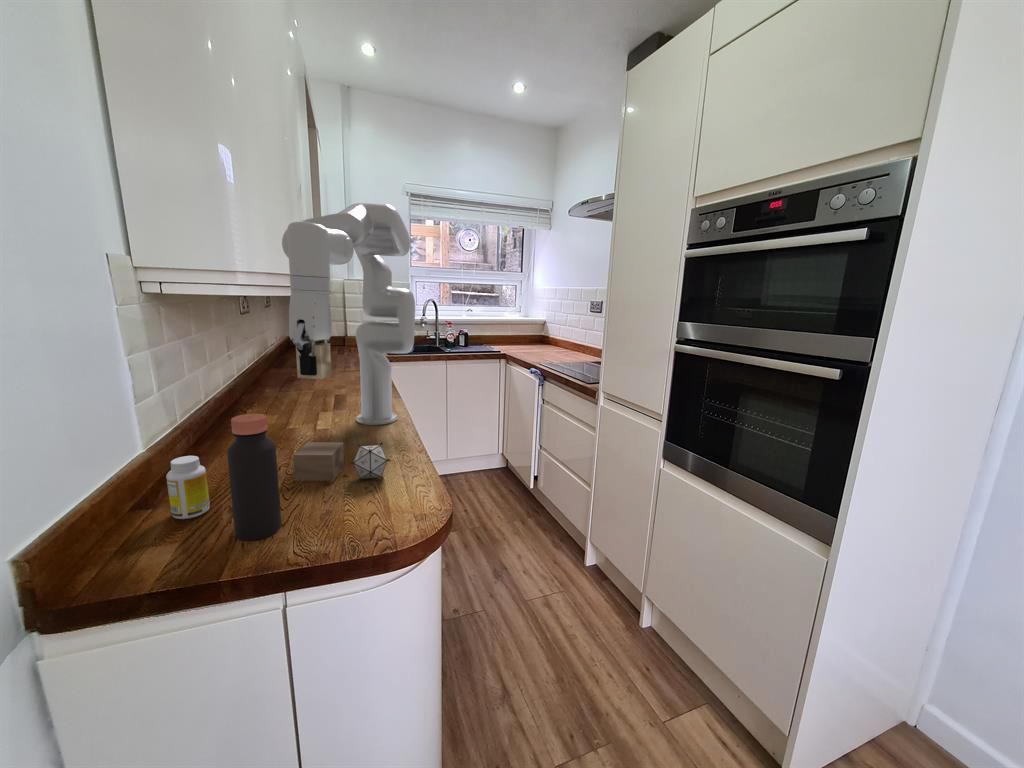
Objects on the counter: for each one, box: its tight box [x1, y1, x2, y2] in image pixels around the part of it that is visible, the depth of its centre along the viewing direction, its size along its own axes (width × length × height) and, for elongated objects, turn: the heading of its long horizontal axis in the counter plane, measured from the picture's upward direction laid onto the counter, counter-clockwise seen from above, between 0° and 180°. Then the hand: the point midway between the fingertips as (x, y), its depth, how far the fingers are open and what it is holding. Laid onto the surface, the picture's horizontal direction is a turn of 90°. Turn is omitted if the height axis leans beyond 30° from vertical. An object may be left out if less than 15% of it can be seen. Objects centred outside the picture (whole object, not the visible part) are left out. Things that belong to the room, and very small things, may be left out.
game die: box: [349, 441, 391, 483], centre depth 92 cm, size 9×8×10 cm
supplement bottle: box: [165, 455, 211, 520], centre depth 74 cm, size 6×6×10 cm
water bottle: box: [226, 413, 282, 542], centre depth 69 cm, size 7×7×20 cm
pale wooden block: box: [295, 342, 332, 380], centre depth 89 cm, size 5×5×7 cm
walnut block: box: [292, 441, 345, 481], centre depth 94 cm, size 8×8×6 cm
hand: (315, 371), depth 90 cm, fingers closed on pale wooden block, 5 cm apart
